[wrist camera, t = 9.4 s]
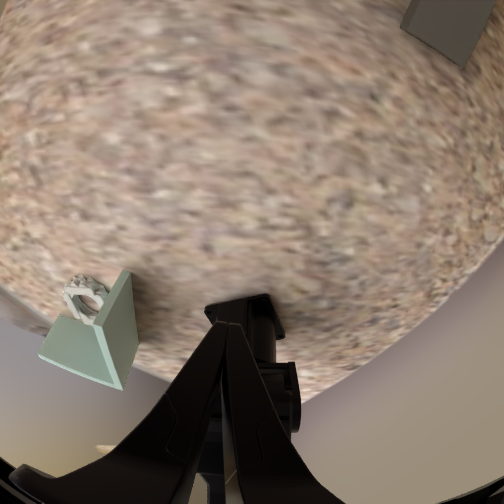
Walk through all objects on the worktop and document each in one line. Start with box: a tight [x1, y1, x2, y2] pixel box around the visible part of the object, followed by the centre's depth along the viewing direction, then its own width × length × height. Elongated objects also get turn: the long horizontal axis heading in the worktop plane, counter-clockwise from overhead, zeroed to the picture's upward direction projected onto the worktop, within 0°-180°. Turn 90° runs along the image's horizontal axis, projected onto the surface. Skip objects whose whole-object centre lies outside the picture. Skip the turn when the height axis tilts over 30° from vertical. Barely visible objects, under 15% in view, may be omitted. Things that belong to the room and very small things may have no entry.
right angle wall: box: [38, 270, 139, 391], centre depth 24 cm, size 12×12×8 cm
